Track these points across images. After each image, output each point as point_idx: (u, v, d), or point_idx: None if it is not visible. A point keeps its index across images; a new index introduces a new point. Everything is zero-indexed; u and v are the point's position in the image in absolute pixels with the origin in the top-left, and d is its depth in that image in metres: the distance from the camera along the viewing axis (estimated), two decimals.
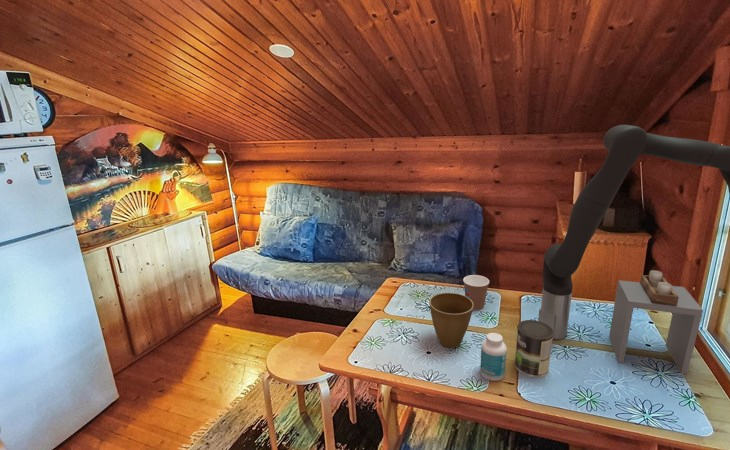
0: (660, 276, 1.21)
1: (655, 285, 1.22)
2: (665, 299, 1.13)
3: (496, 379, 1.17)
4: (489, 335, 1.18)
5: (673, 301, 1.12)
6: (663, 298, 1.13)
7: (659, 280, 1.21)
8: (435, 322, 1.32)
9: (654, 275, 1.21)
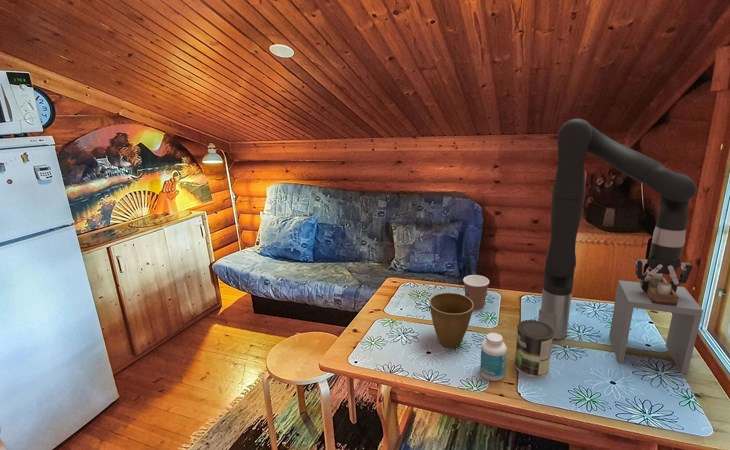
0: (660, 276, 1.21)
1: (655, 285, 1.22)
2: (665, 299, 1.13)
3: (496, 379, 1.17)
4: (489, 335, 1.18)
5: (673, 301, 1.12)
6: (663, 298, 1.13)
7: (659, 280, 1.21)
8: (435, 322, 1.32)
9: (654, 275, 1.21)
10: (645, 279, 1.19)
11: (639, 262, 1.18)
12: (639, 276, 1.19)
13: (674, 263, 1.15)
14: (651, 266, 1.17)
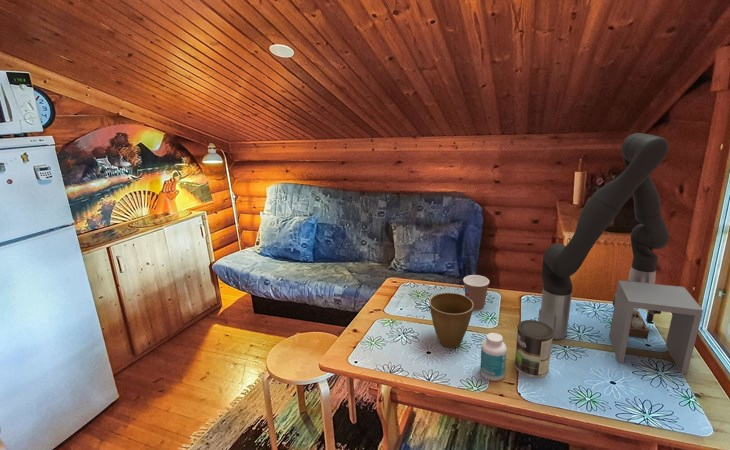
0: (635, 311, 1.42)
1: (631, 319, 1.43)
2: (638, 332, 1.35)
3: (496, 379, 1.17)
4: (489, 335, 1.18)
5: (644, 334, 1.34)
6: (636, 332, 1.35)
7: (634, 314, 1.43)
8: (435, 322, 1.32)
9: None
10: None
11: None
12: None
13: None
14: None
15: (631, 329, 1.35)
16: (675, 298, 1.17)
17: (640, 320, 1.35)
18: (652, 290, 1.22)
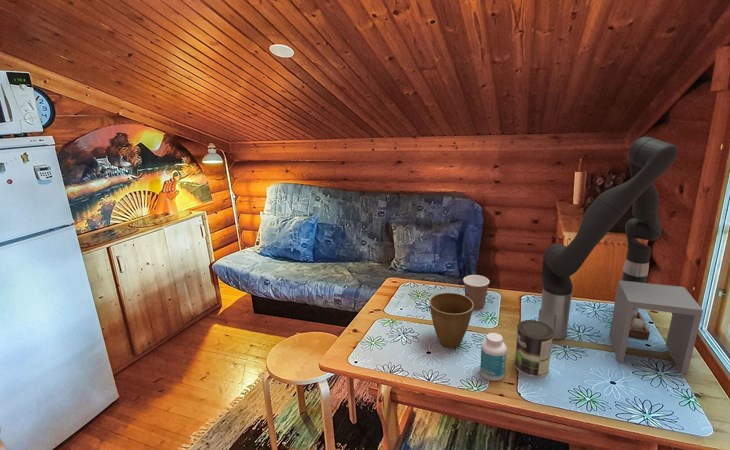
0: (636, 312, 1.42)
1: (632, 320, 1.43)
2: (639, 334, 1.34)
3: (496, 379, 1.17)
4: (489, 335, 1.18)
5: (645, 335, 1.33)
6: (637, 333, 1.34)
7: (635, 316, 1.42)
8: (435, 322, 1.32)
9: None
10: None
11: None
12: None
13: None
14: None
15: (632, 330, 1.35)
16: (675, 298, 1.17)
17: (641, 321, 1.35)
18: (652, 290, 1.22)
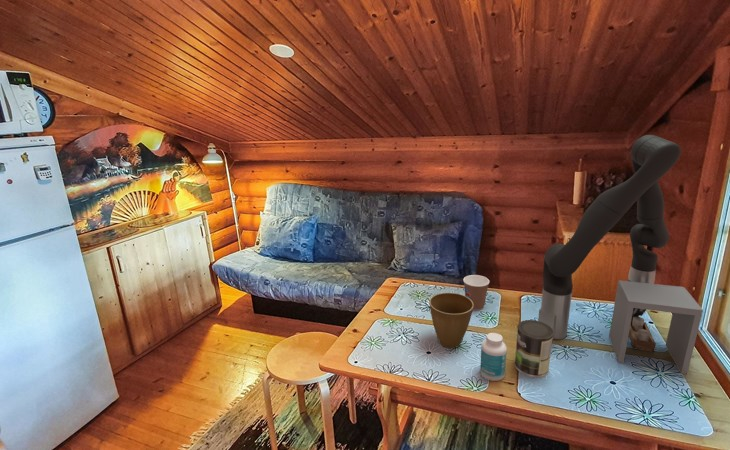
0: (642, 322, 1.35)
1: (637, 330, 1.36)
2: (644, 345, 1.28)
3: (496, 379, 1.17)
4: (489, 335, 1.18)
5: (651, 347, 1.27)
6: (642, 344, 1.28)
7: (641, 326, 1.36)
8: (435, 322, 1.32)
9: (637, 322, 1.36)
10: None
11: (645, 309, 1.33)
12: None
13: None
14: None
15: (637, 342, 1.28)
16: (675, 298, 1.17)
17: (646, 332, 1.29)
18: (652, 290, 1.22)
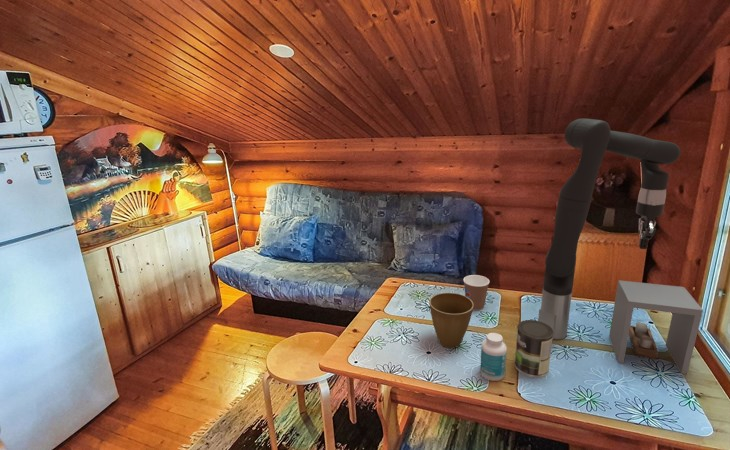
0: (645, 329, 1.32)
1: (640, 336, 1.33)
2: (646, 352, 1.24)
3: (496, 379, 1.17)
4: (489, 335, 1.18)
5: (653, 355, 1.24)
6: (644, 351, 1.24)
7: (644, 332, 1.32)
8: (435, 322, 1.32)
9: (640, 328, 1.32)
10: None
11: None
12: None
13: None
14: None
15: (638, 348, 1.25)
16: (675, 298, 1.17)
17: (649, 339, 1.25)
18: (652, 290, 1.22)
